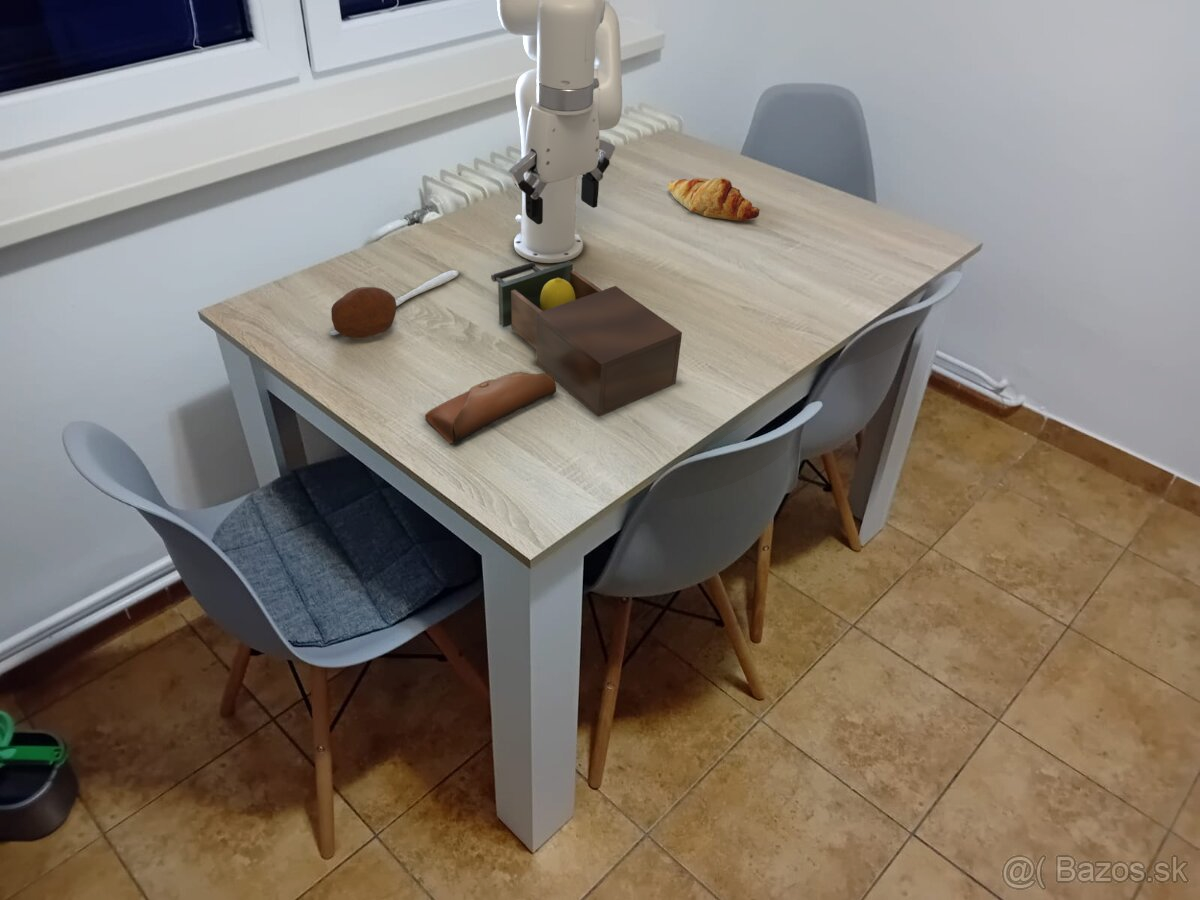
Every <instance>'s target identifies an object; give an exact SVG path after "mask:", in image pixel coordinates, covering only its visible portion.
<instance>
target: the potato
mask: <svg viewBox="0 0 1200 900" xmlns="http://www.w3.org/2000/svg"><path fill="white" fill-rule="evenodd" d="M395 300H396V298H395V296H394V295H393V294H392V293H391V292H389V291H388V290H386V289H383V288H380V287H375V286H361V287H357V288H354V289H352V290H350V291H348V292H347V293H345V294H344V295H343V296H342V297H340V298H338V299H337V300H336V301H335V302H334V303H333V304H332V307H331V315H330V316H331V322H332V325H333V328H334V330H336V331H337V332H338V333H340V334H339V335H341V336H343V337H346V338H349V339H361V338H369V337H374V336H376V335H379V334H382V333H385V332H387V331H388V330H389V329H390V328H391V327H392V325H393V323H394V320H395V317H396V312H397V307H398V306H396V301H395Z"/></svg>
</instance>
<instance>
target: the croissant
mask: <svg viewBox="0 0 1200 900" xmlns="http://www.w3.org/2000/svg"><path fill="white" fill-rule="evenodd" d="M667 191H669V193H670V194H671V195H672V197H673V198H674V199H675V200H676V201H677V202H678V203H680V204H681V205H682V206H683V207H685V208H686V209H687V210H689V211H690V213H695V214H699V215H701V216H703V217H708V218H712V219H714V218H715V219H725V220H729V221H742V222H744V221H749V220H751V219H756V218H758V217H759V215H760V212H761V209H760V208H759V207H757V206H753V203H752V202H751V200H749V199H747V198H745V197H744V195H742V193H741V190H740V189H738V188H736V187H733V185H732V182H731V180H730V179H727V178H726V177H714V178H711V179H709V178H702V177H697V178H692V179H686V178H682V179H681V178H680V179H677V180H676V181H675V180H670V181H669V183H667Z"/></svg>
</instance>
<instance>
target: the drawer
mask: <svg viewBox="0 0 1200 900" xmlns="http://www.w3.org/2000/svg"><path fill="white" fill-rule="evenodd" d="M530 271H533V272H530ZM527 272H530V273H527ZM523 273H527V274H525V275H522V276H519V277H515V276H517V275H521V274H523ZM511 277H515V278H512V279H510V280H507V281H505V279H508V278H511ZM556 278H560V279H564V280H566V281H567V282H569V283H570V284H571V286H572V287H573V290H574V293H575V298H576V299H579V298H582V297H585V296H588V295H591V294H593V293H596V292H599V291H602V290H603V289H602V288H600V287H599V286H598V285H596V284H595V283H593V282H592V281H590V280H589V279H587V278H586V277H585V276H583V275H582V274H580V273H579V272H578V271H577V270H574V264H573V263H572V262H571V261H570V260H568V261H565V262H561V263H558V264H557V265H553V266H549V267H547V268H543V269H541V268H539V267H537V266H536V263H535V261H531V262H527V263H524V264H520V265H518V266H515V267H512V268H508V269H506V270H502V271H499V272H495V273H493V274H491V275H490V279H491V282H493V283H495V282H497V283H498V284H497V288H498V316H499V317H498V323H499V325H500V326H501V327H502V328H507V327H508V326H509V327H510V326H511V329H512V330H513V331H514V332H515V333H516V334H518V336H520V337H521V338H522V339H523V340H525V342H527V343H528V344H530V345H531V346H532V347H533V348H534V349H535V350H537V313H539V312H542V310H541V306H540V296H541V292H542V289H543V287H544V285H545V284H546V283H547V282H548V281H550V280H552V279H556Z"/></svg>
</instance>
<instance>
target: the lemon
mask: <svg viewBox="0 0 1200 900" xmlns="http://www.w3.org/2000/svg"><path fill="white" fill-rule="evenodd" d="M573 300H576V298H575V293H574V290H573V287H572V286H571V284H570V283H569V282H567V281H566V280H564V279H560V278H556V279H552V280H550V281H548V282H547V283H546V284H545V285H544V287H543V289H542V292H541V296H540V306H541V310H542V311H545V310H548V309H550V308H553V307H556V306H559V305H562V304H565V303H568V302H571V301H573Z"/></svg>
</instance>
